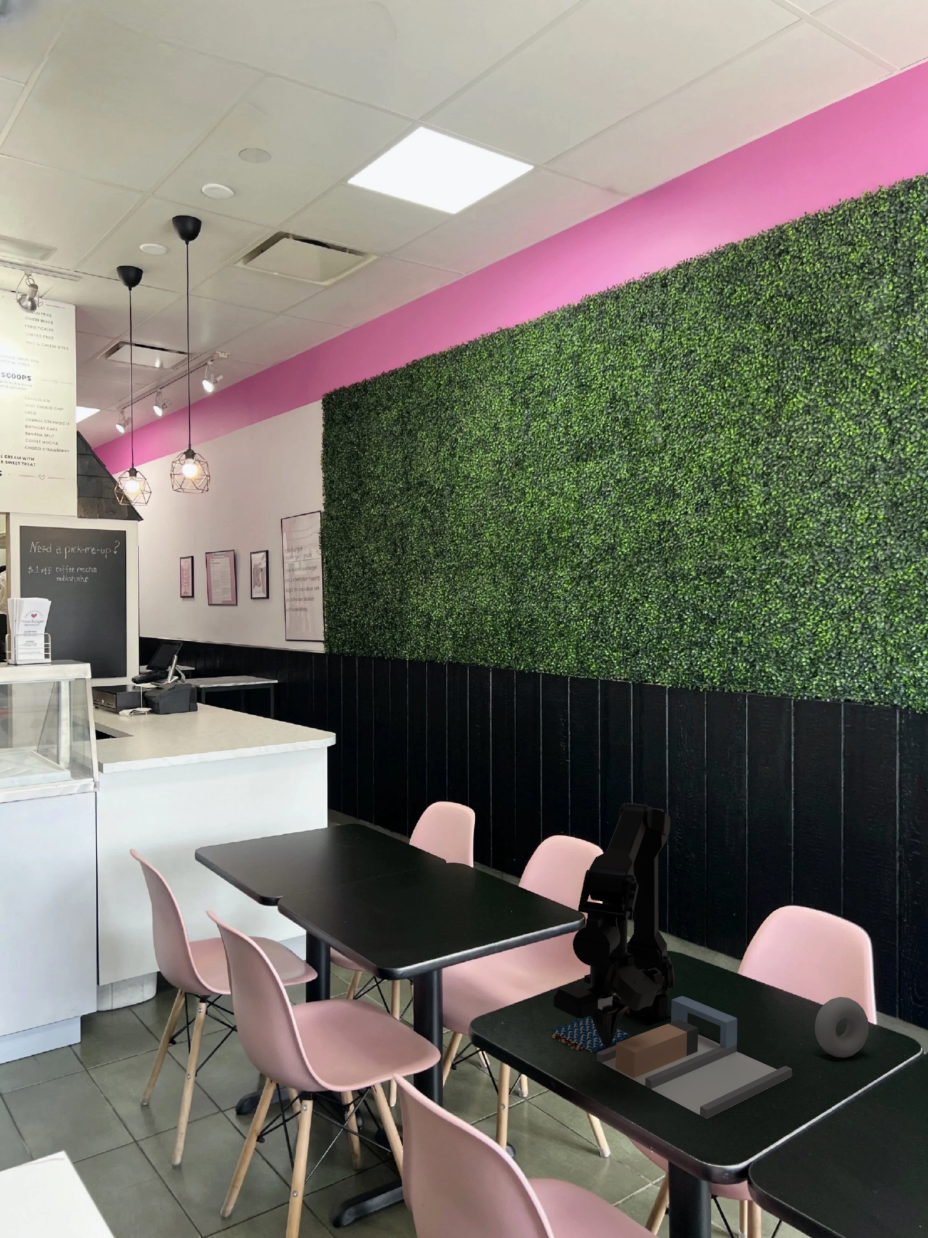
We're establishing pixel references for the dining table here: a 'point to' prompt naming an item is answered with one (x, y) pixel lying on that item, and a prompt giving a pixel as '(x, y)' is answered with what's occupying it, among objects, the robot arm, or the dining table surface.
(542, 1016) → the dining table surface
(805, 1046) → the dining table surface
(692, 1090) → the grey tray
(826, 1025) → the donut
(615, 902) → the robot arm
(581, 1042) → the woven mat
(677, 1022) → the two-tone brown block
